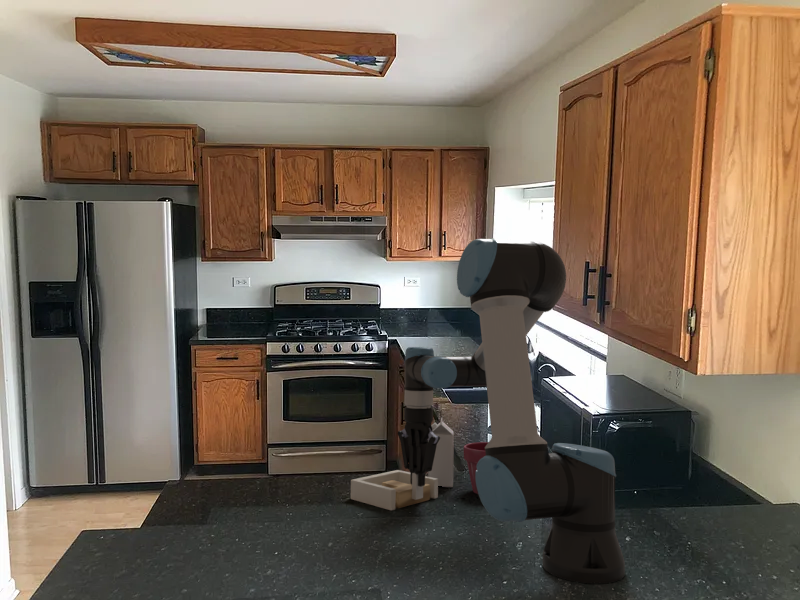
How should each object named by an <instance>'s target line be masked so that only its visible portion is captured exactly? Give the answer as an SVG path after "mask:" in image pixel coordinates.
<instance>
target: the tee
mask: <svg viewBox="0 0 800 600" xmlns="http://www.w3.org/2000/svg"><path fill="white" fill-rule="evenodd" d="M382 486H385V487H389V488H393V489H396V501H395V509H401V508H404V507H407V506H412V505H415V504H419V503H422V502H426V501H429V500H431V498H430V485H429V484H425V486H423V498H421V499H417V500H415V499H412V485H411V484H406V483H402V482H398V481H394V480H391V481H387V482H382Z"/></svg>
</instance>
